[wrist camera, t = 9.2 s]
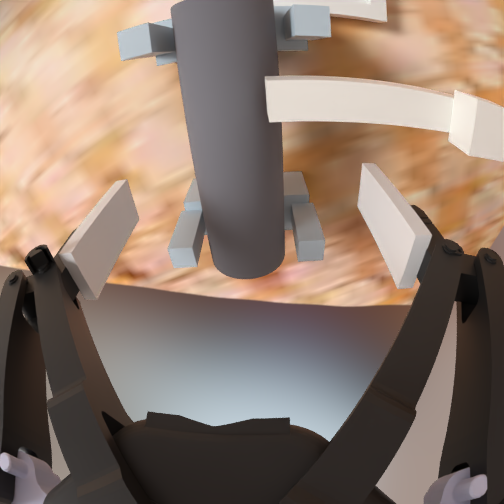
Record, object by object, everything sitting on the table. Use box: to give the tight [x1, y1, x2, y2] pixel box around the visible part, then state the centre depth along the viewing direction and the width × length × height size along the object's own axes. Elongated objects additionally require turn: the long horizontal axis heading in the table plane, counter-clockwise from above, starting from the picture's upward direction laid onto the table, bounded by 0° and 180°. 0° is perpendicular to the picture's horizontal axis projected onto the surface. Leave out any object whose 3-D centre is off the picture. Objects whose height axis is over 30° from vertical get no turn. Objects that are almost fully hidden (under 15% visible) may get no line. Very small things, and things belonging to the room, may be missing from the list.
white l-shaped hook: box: [265, 76, 504, 162], centre depth 9 cm, size 2×10×4 cm, turn 94°
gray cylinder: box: [171, 0, 285, 279], centre depth 15 cm, size 16×5×5 cm, turn 5°
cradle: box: [117, 4, 331, 268], centre depth 17 cm, size 16×10×8 cm, turn 5°
